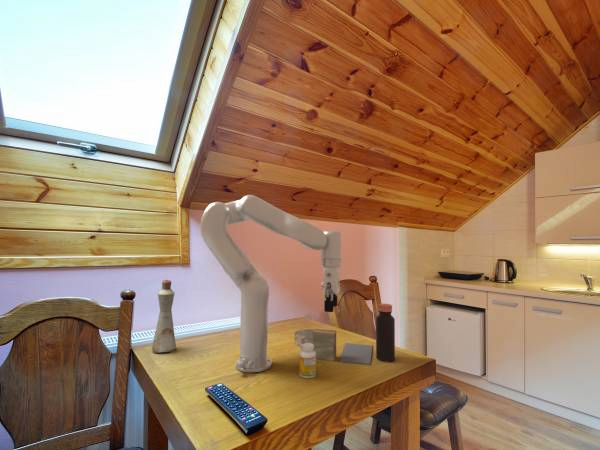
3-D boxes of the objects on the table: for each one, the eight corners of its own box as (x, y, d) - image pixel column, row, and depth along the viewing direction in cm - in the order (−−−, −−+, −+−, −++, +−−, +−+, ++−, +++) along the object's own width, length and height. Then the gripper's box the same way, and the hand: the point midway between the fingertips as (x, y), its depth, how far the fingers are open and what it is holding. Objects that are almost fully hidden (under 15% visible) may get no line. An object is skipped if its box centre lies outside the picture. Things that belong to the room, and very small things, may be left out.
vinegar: (378, 354, 121) (378, 302, 122) (396, 357, 118) (396, 304, 119) (374, 360, 115) (374, 305, 116) (393, 363, 112) (392, 307, 113)
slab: (334, 361, 114) (334, 333, 114) (313, 359, 116) (313, 331, 116) (336, 357, 118) (336, 330, 118) (315, 355, 120) (315, 328, 120)
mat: (370, 365, 110) (370, 363, 110) (339, 361, 113) (339, 360, 113) (372, 346, 130) (372, 345, 130) (345, 344, 133) (345, 342, 133)
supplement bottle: (299, 371, 105) (299, 342, 105) (315, 371, 105) (315, 342, 105) (299, 378, 99) (299, 347, 100) (316, 378, 99) (316, 347, 100)
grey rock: (329, 352, 123) (325, 336, 143) (329, 340, 124) (324, 325, 144) (294, 353, 123) (294, 336, 143) (294, 341, 123) (294, 326, 143)
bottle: (151, 355, 117) (153, 281, 119) (152, 348, 126) (154, 278, 127) (176, 352, 121) (178, 280, 122) (175, 345, 129) (177, 277, 131)
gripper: (337, 265, 109) (337, 314, 108) (343, 261, 125) (343, 304, 125) (316, 264, 111) (316, 313, 110) (325, 261, 127) (325, 303, 126)
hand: (331, 308), depth 117 cm, fingers open, 9 cm apart
